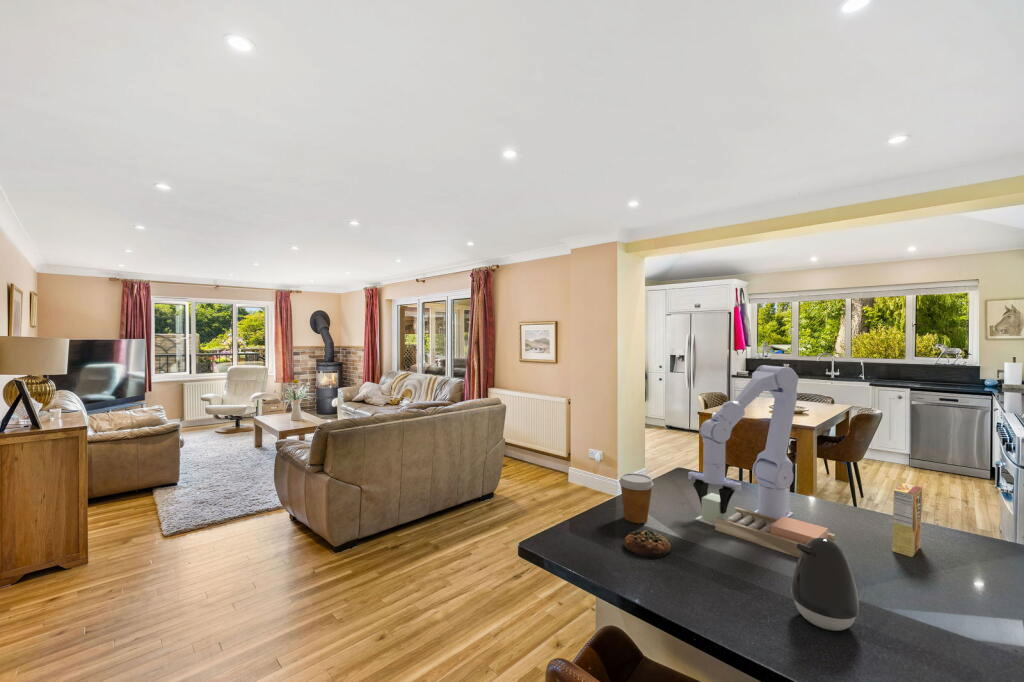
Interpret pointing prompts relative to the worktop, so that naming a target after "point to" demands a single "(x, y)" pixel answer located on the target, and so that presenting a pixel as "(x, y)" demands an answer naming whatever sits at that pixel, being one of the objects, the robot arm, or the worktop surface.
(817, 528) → the slab
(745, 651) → the worktop surface
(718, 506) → the block
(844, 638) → the worktop surface
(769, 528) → the roller bed
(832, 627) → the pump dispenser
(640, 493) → the disposable coffee cup
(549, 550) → the worktop surface
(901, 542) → the candy box
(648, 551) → the bread roll
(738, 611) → the worktop surface
